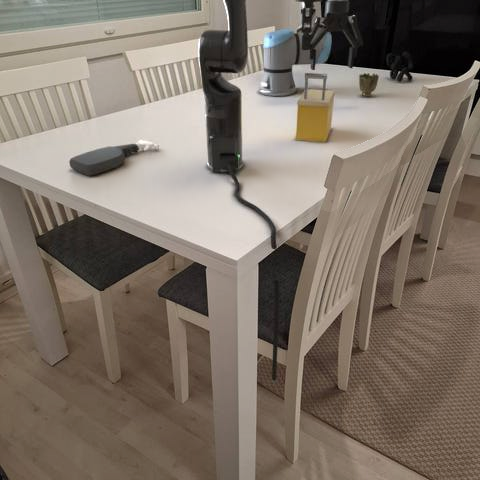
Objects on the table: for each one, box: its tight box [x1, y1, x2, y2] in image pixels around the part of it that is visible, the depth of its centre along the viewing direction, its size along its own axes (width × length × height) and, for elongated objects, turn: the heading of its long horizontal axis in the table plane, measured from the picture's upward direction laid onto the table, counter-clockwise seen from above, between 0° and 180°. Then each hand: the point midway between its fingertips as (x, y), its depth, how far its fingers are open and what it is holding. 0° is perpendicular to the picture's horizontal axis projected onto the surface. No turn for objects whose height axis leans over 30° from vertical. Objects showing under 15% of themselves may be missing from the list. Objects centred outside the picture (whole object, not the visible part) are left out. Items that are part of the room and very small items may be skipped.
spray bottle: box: [68, 139, 160, 177], centre depth 124 cm, size 3×11×24 cm
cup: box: [358, 72, 380, 98], centre depth 176 cm, size 8×7×8 cm
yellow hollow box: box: [295, 95, 335, 143], centre depth 138 cm, size 13×9×11 cm
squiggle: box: [385, 51, 414, 83], centre depth 198 cm, size 11×10×15 cm
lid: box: [296, 72, 335, 107], centre depth 132 cm, size 14×9×8 cm, turn 163°
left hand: (306, 47), depth 125 cm, fingers open, 8 cm apart
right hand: (331, 68), depth 156 cm, fingers open, 13 cm apart
